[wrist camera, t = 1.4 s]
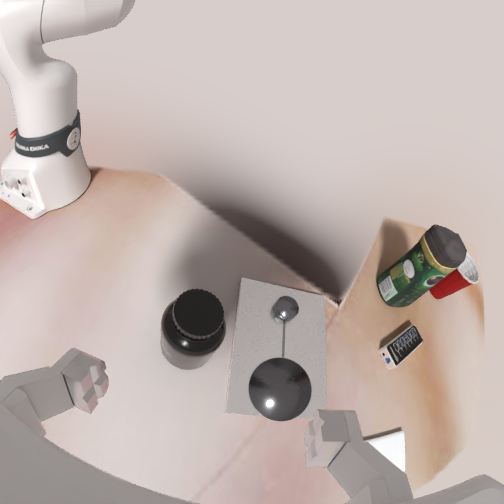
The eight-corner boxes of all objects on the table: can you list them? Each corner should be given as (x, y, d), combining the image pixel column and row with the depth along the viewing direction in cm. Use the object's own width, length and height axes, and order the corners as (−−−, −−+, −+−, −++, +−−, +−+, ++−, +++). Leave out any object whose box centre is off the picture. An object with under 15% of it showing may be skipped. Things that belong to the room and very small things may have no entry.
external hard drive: (398, 471, 28) (340, 491, 25) (397, 431, 33) (340, 445, 30) (405, 471, 27) (346, 493, 24) (404, 429, 32) (346, 445, 29)
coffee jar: (400, 276, 55) (457, 225, 40) (411, 308, 50) (475, 259, 36) (371, 274, 52) (431, 214, 38) (382, 309, 47) (452, 253, 33)
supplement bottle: (150, 350, 31) (145, 316, 22) (179, 312, 36) (188, 265, 26) (195, 381, 31) (211, 361, 22) (221, 340, 35) (247, 303, 26)
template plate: (224, 416, 29) (227, 416, 28) (240, 279, 42) (244, 273, 40) (323, 421, 32) (330, 420, 30) (321, 298, 44) (327, 292, 43)
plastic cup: (419, 264, 60) (450, 236, 51) (444, 281, 60) (474, 256, 51) (422, 298, 53) (459, 270, 44) (448, 314, 53) (483, 289, 44)
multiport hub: (416, 345, 45) (424, 341, 43) (387, 371, 40) (395, 367, 38) (406, 327, 47) (414, 322, 45) (376, 350, 42) (384, 346, 40)
